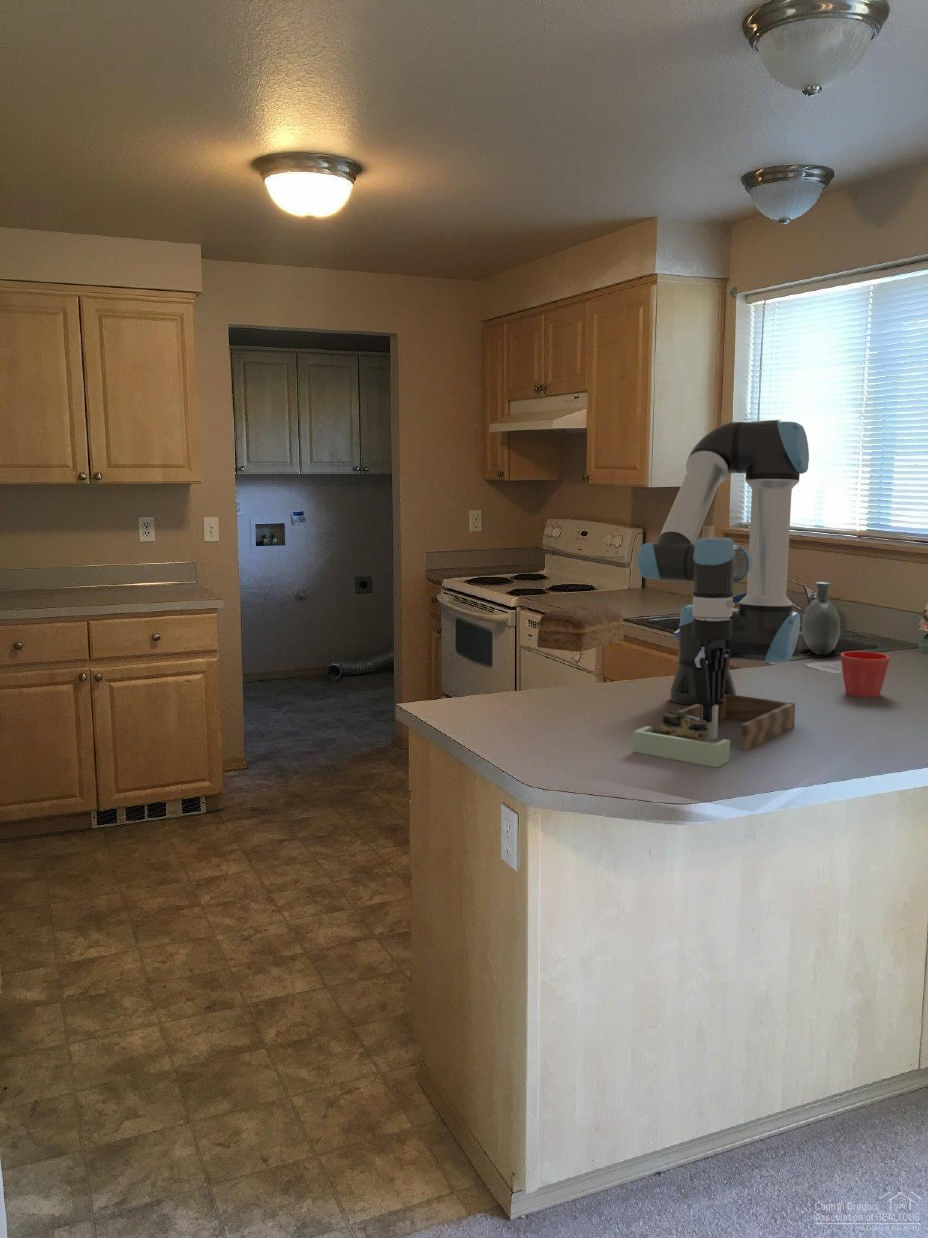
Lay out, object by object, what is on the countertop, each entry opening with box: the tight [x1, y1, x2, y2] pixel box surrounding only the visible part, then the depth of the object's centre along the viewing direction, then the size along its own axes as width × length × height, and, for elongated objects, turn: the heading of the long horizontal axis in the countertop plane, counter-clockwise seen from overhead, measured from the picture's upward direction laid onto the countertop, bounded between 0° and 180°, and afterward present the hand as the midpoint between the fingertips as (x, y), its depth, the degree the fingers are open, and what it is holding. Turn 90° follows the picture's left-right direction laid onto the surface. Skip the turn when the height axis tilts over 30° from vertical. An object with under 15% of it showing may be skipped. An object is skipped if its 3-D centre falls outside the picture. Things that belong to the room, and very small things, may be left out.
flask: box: [801, 581, 841, 656], centre depth 298 cm, size 12×17×22 cm
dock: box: [632, 725, 731, 768], centre depth 189 cm, size 5×17×4 cm, turn 51°
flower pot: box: [840, 650, 890, 698], centre depth 244 cm, size 11×11×10 cm
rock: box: [652, 710, 709, 742], centre depth 195 cm, size 9×9×6 cm
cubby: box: [678, 694, 796, 752], centre depth 207 cm, size 24×16×5 cm, turn 141°
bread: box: [536, 602, 625, 653], centre depth 316 cm, size 17×30×13 cm, turn 144°
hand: (709, 737), depth 198 cm, fingers closed
